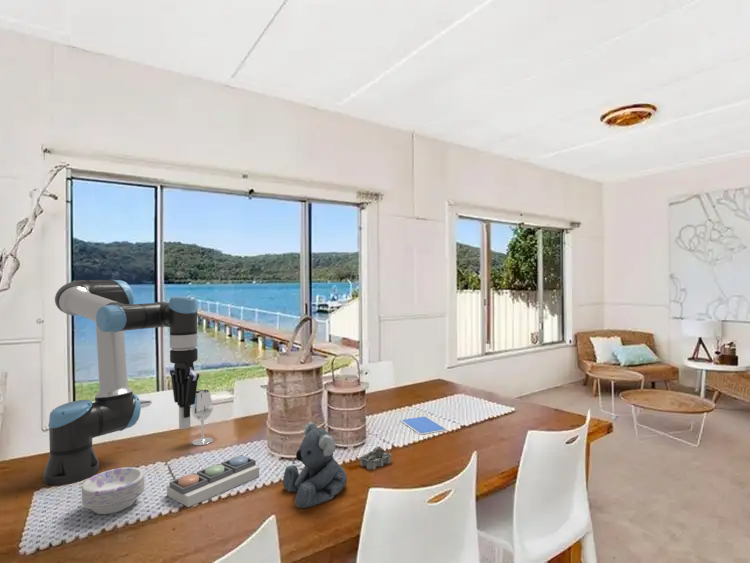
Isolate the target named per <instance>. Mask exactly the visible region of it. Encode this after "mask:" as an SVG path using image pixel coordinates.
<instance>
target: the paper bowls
mask: <svg viewBox="0 0 750 563" xmlns="http://www.w3.org/2000/svg"><path fill="white" fill-rule="evenodd" d="M145 481H146V480H145V472H144V470H143V469H141V468H139V467H138V468H137V467H134V466H133V467H131V466H130V467H129V466H128V467H118V468H112V469H109V470H106V471H102V472H100V473H97V474H94V475H92V476H90V477H88V478H87V480H86V479H85V481H84V483H82V485H81V504H82V506H83V507H84V508H85V509H89V510H92V512H94V513H95V514H98V515H110V514H115V513H119V512H121V511H124V510H126V509H128V508H129V507H131V506H132V505H133V504H134V503H135V502H136V499H138V498H139V497H140V496H141V495H142V494H143V493H144V491H145V488H146V487H145V484H146V482H145Z"/></svg>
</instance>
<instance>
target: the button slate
mask: <svg viewBox="0 0 750 563" xmlns="http://www.w3.org/2000/svg"><path fill="white" fill-rule="evenodd" d="M247 457H248V456H244V455H243V456H241V455H238V456H237V455H236V456H234V457H232V458H230V459H228V460H229V463H230V465H231V466H234V467H238V466H240V465H243V464H246V463H248V458H249V457H248V458H247Z"/></svg>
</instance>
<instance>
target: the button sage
mask: <svg viewBox="0 0 750 563" xmlns="http://www.w3.org/2000/svg"><path fill="white" fill-rule="evenodd" d="M204 469H205V475H208V476H210V477H213V476H215V475H218V474H220V473H223V472H224V466H223V465H217V464H213V465H210V466H207V467H205V468H204Z"/></svg>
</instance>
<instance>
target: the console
mask: <svg viewBox="0 0 750 563" xmlns="http://www.w3.org/2000/svg"><path fill="white" fill-rule="evenodd" d="M240 456H244V455H242V454H241V455H240ZM246 457H247V458H248V463H246V464H243V465H240V466H238V467H234V466H231V465H230V463H229V460H230V459H228V460H224V461H222V462H221V463H217V464H216V465H223V466H224V472H223V473H220V474H218V475H215V476H213V477H210V476H208V475H205V469H206V468H204V469H201V470H198V471H196V473H194V472H192V474H195V475H198V476H199V482H198V483H195V484H193V485H190V486H188V487H185V488H183V487H181V486H179V485H178V479H179V478H177V479H174V480H172V481H170V482H169V483H168V484H167V485H166V495H167V496H168V497H170V498H171V499H173V500H175V501H177V502H179V503H180V504H181V505H183V506H185V507H187V508H190V507H192V506H194V505H197V504H199V503H201V502H204V501H205V500H206V501H207V500H208V499H210V498H212V497H215V496H217V495H219V494H222V493H225V492H226V491H228V490H231V489H233V488H235V487H237V486H240V485H242V484H245V483H247V482H249V481H252V480H254V479H257V478H259V477H260V466H258V465H256V464H257V462H256V460H255V459H253V458H250V457H248V456H246Z"/></svg>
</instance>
